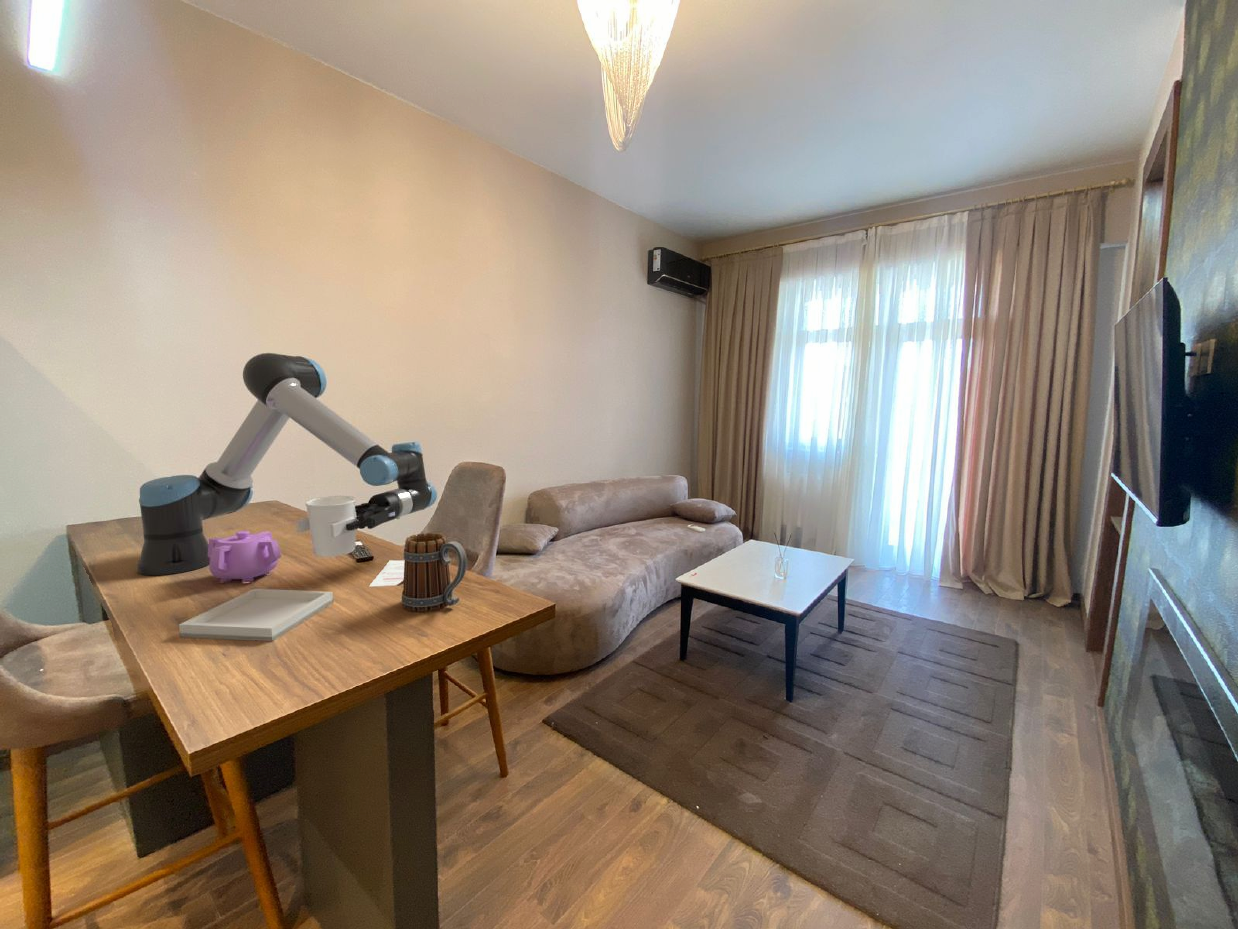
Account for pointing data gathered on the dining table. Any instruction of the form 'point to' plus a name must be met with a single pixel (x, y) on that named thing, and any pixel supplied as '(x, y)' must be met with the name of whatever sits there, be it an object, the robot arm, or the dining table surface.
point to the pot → (243, 556)
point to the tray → (257, 615)
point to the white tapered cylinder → (320, 522)
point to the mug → (430, 572)
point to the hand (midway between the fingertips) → (315, 528)
